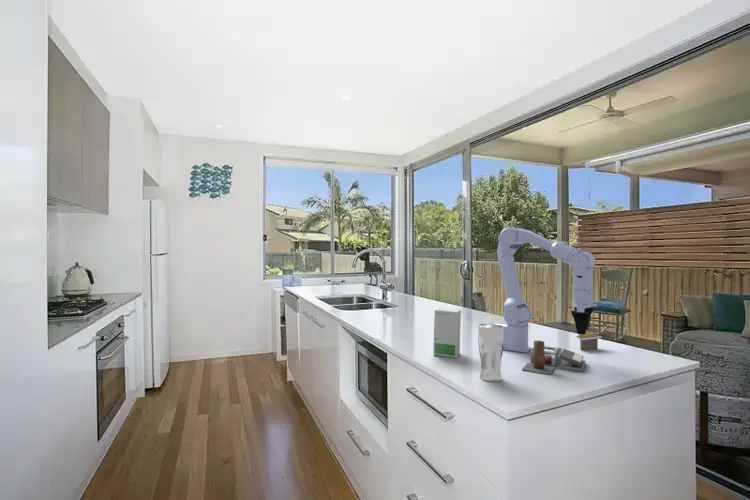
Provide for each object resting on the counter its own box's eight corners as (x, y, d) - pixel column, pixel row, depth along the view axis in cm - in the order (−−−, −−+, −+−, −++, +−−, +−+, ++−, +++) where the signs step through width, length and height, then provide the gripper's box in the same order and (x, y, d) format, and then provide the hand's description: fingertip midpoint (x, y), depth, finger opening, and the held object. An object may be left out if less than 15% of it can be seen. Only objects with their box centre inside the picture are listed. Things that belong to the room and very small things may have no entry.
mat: (522, 370, 121) (522, 369, 121) (527, 363, 128) (527, 362, 128) (550, 375, 117) (550, 373, 117) (555, 368, 124) (555, 366, 124)
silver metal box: (529, 364, 128) (529, 351, 128) (535, 356, 136) (535, 345, 136) (582, 372, 120) (582, 358, 120) (585, 363, 128) (585, 351, 128)
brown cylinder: (532, 368, 122) (532, 341, 122) (534, 365, 125) (535, 340, 125) (542, 370, 120) (542, 343, 120) (545, 367, 123) (545, 341, 123)
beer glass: (488, 383, 110) (489, 328, 109) (473, 376, 116) (473, 324, 116) (509, 380, 112) (509, 326, 112) (492, 373, 119) (492, 322, 119)
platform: (555, 348, 149) (555, 330, 149) (591, 344, 155) (591, 327, 155) (582, 356, 138) (582, 337, 138) (620, 351, 144) (620, 333, 144)
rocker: (558, 358, 124) (559, 354, 123) (562, 351, 131) (563, 348, 131) (579, 366, 121) (581, 362, 120) (582, 358, 128) (583, 355, 128)
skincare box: (432, 355, 138) (433, 310, 138) (437, 350, 144) (437, 307, 144) (457, 358, 135) (457, 311, 134) (461, 353, 141) (461, 308, 141)
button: (540, 361, 130) (540, 356, 130) (541, 359, 133) (541, 354, 133) (550, 362, 128) (550, 357, 128) (552, 360, 131) (552, 355, 131)
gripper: (595, 292, 121) (595, 337, 121) (598, 288, 133) (598, 329, 133) (569, 291, 125) (569, 334, 125) (574, 287, 137) (574, 326, 137)
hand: (582, 331), depth 129 cm, fingers open, 7 cm apart
